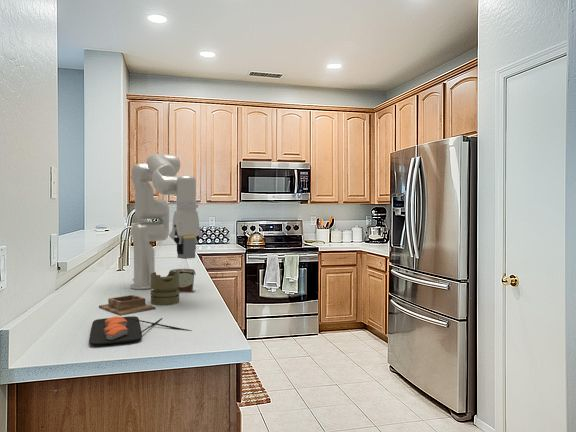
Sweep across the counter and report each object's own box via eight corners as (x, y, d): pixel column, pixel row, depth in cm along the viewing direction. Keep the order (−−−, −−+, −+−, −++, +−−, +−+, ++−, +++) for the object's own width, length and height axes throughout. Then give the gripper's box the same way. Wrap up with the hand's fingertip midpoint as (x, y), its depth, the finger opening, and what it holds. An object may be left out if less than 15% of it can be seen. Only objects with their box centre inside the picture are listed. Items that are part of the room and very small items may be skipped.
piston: (182, 274, 183) (153, 276, 178) (182, 303, 183) (153, 306, 178) (175, 270, 193) (148, 272, 188) (175, 298, 193) (148, 301, 188)
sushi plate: (93, 324, 153) (92, 313, 153) (183, 316, 164) (183, 306, 164) (88, 350, 126) (88, 337, 126) (196, 339, 137) (196, 326, 137)
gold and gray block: (177, 257, 180) (177, 235, 180) (188, 256, 184) (188, 234, 183) (184, 258, 176) (184, 235, 176) (195, 257, 180) (195, 235, 180)
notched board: (98, 307, 176) (98, 297, 176) (132, 302, 186) (132, 292, 186) (120, 315, 164) (120, 304, 164) (155, 308, 174) (155, 299, 174)
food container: (199, 290, 212) (199, 268, 212) (195, 292, 206) (195, 270, 206) (173, 289, 214) (173, 268, 213) (169, 292, 207) (168, 270, 207)
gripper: (199, 207, 188) (199, 251, 189) (161, 207, 176) (162, 254, 177) (209, 207, 183) (209, 252, 183) (172, 207, 171) (172, 256, 171)
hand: (186, 252), depth 180 cm, fingers closed on gold and gray block, 5 cm apart
